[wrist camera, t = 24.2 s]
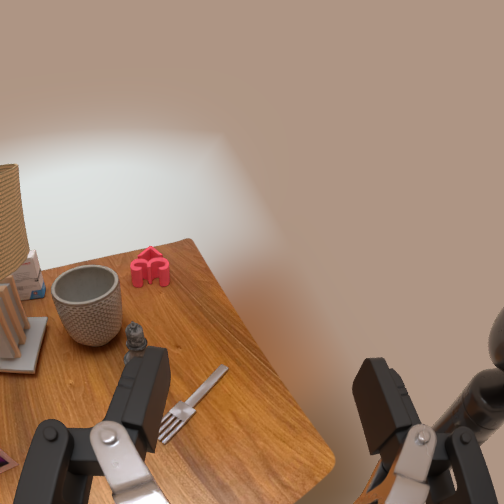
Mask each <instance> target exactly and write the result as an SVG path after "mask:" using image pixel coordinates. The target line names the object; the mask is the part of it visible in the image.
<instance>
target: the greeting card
mask: <svg viewBox="0 0 504 504" xmlns="http://www.w3.org/2000/svg"><path fill="white" fill-rule="evenodd" d="M17 465H19V464H18V463H16V462H15V461H14V460H13V459H12V458H10V457H9V456H8V455H7V454H6V453H5V452H4V451H3V450H1V449H0V473H2V472H4V471H6V470H9V469H11V468H13V467H15V466H17Z"/></svg>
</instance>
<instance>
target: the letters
mask: <svg viewBox="0 0 504 504" xmlns="http://www.w3.org/2000/svg"><path fill="white" fill-rule="evenodd" d="M130 266H131V275H132V283H133V286H134V287H142V286H143V279H147V280H148V282H149V284H152V280H153V279H154V278H159V281H160V286H163V287H164V286H167V285H169V283H170V276H169V262H168V260H167V259H165V258H163V255H162V254H161V253H160V252H158V251H157V250H156V249H155V248H153V247H152V246H149V247H148V248H147V249H145V250H144V251H143V252H142V253H140V254H139V255H138V259H136V260H134V261H132V262H131V265H130Z"/></svg>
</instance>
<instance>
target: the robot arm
mask: <svg viewBox="0 0 504 504" xmlns="http://www.w3.org/2000/svg"><path fill="white" fill-rule="evenodd" d="M488 348H489V354H490V358H491V360H492V362H493V364H494V365H495V366H496V367H497V368H495V369H486V370H483V371H481V372H479V373H477V374H476V375H475V376H474V377H473V378H472V380H471V381H470V382H469V383H468V385H467V386H466V387H465V389H464V390H463V391H462V393H461V394H460V395H459V396H458V398H457V399H456V400H455V401H454V403H453V404H452V405H451V406H450V407H449V408H448V409H447V411H446V412H445V413H444V414H443V415H442V416H441V417H440V418H439V420H438V421H437V422H436V423H435V424H434V425H433V426H432V427H429V426H428V425H425V424H422V423H421V422H420V419H419V417H418V415H417V413H416V410H415V408H414V406H413V403H412V401H411V399H410V396H409V395H408V392H407V390H406V388H405V385H404V383H403V381H402V379H401V377H400V376H399V374H397V372H396V371H395V370H393V369H389V368H388V365H387V363H386V361H385V359H384V358H382V357H381V358H366V359H365V360H364V362H363V364H362V366H361V368H360V370H359V372H358V374H357V375H356V377H355V379H354V382H353V387H352V391H353V396H354V399H355V402H356V406H357V409H358V412H359V416H360V420H361V423H362V426H363V430H364V434H365V437H366V441H367V444H368V448H369V452H370V455H375V454H380V455H381V458H380V460H379V461H378V463H377V465H376V467H375V469H374V471H373V473H372V475H371V477H370V479H369V481H368V483H367V485H366V487H365V489H364V490H363V492H362V494H361V495H360V497H359V498H358V499H357V500H356V501H355V502H354V503H353V504H424V503H425V502H426V504H498V501H497V497H496V494H495V490H494V487H493V484H492V480H491V477H490V474H489V471H488V468H487V466H486V462H485V460H484V457H483V454H482V452H481V449H480V446H481V445H482V444H483V443H484V442H485V441H486V440H487V439H488V438H489V437H490V436H491V435H492V434H494V433H495V432H496V431H497V430H498V429H499V428H500V427H501V426H502V425H503V424H504V307H503V309H502V310H501V311H500V313H499V314H498V316H497V317H496V319H495V321H494V323H493V326H492V328H491V331H490V335H489V342H488ZM170 380H171V372H170V365H169V358H168V351H167V349H166V348H161V347H154V346H147V348H146V350H145V353H144V356H143V358H141V357H135V356H134V357H133V358H132V359H131V360H130V361H129V362H128V363H127V364H126V365H125V367H124V370H123V372H122V375H121V377H120V380H119V382H118V386H117V387H116V390H115V392H114V395H113V398H112V400H111V403H110V406H109V408H108V411H107V414H106V416H105V418H104V419H103V421H102V422H100V423H98V424H96V425H95V426H94V427H91V428H66V427H65V425H64V424H63V423H62V422H60V421H58V420H55V419H48V420H45V421H43V422H41V423H40V424H39V425H38V427H37V429H36V431H35V434H34V437H33V439H32V442H31V445H30V448H29V451H28V453H27V456H26V459H25V463H24V466H23V469H22V472H21V476H20V479H19V483H18V486H17V490H16V494H15V498H14V502H13V504H88V500H89V494H90V489H91V484H92V479H93V476H105V477H106V479H107V481H108V483H109V485H110V487H111V490H112V492H113V494H112V496H113V499H114V502H115V504H171V503H170V502H169V500H168V499H167V498H166V496H165V495H164V493H163V492H162V490H161V489H160V487H159V485H158V484H157V482H156V481H155V479H154V477H153V476H152V474H151V473H150V471H149V469H148V467H147V466H146V464H145V462H144V461H145V456H146V452H150V453H155V448H156V444H157V439H158V434H159V430H160V425H161V421H162V417H163V412H164V408H165V404H166V400H167V395H168V391H169V387H170ZM451 469H453V472H454V476H455V479H456V482H457V491H455V488H454V485H453V481H452V477H451V474H450V470H451Z"/></svg>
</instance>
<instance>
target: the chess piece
mask: <svg viewBox="0 0 504 504" xmlns="http://www.w3.org/2000/svg"><path fill="white" fill-rule="evenodd" d="M125 332H126V336H127V342H126V346H127V348H128V349H129V351H128V352H127V353H126V354H125V356H124V364H125V365H126V364H127V363H128V362H129V361H130V360H131V359H132V358H133V357H134V356H135V357H141V358H143V356H144V353H145V350H146V346H147V340H146V338H144V334H143V329H142V327H141V325H139V324H137V323H135V322H133V321H132V322H131V324H129V325H128V326H127V327H126V330H125Z"/></svg>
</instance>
